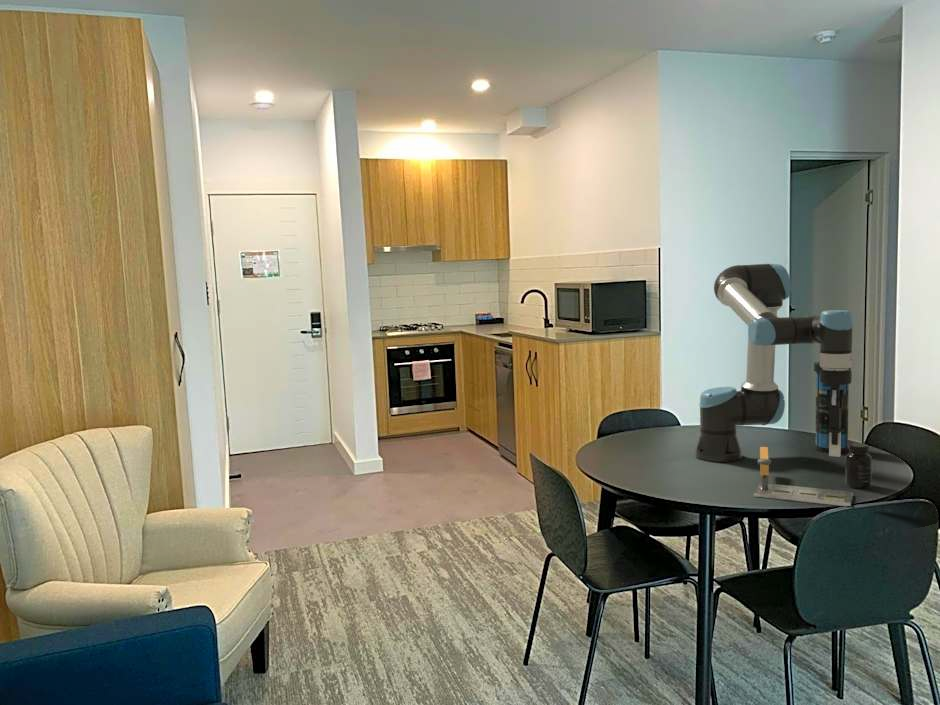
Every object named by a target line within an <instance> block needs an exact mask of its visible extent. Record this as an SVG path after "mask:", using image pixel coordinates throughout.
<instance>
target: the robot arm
mask: <svg viewBox="0 0 940 705" xmlns="http://www.w3.org/2000/svg"><path fill="white" fill-rule="evenodd" d="M791 291H792V283H791V278H790V274H789V272H788V271H787V269H786V268H785V266H783V265H782V264H780V263H779V264H778V263H775V264H774V263H758V264H737V265H732V266H728V267H727V268H725V269H724V270H723V271H721V272H720V273H719V274H718V276H717V277H716V279H715V281H714V284H713V292H714V293H713V294H714V295H715V297H716V299H717V300H718V301H719V302H720V304H722V305H723V306H725V307H728V308H730V309H731V310H732V311H733V312H734V313H735V314H736V315H737V316H738V317H739V318H740V320H741V321H743V323H744V324H745V325H746V326H747V352H746V353H747V354H746V378H745V381H743V382H742V383H741V384H740V385H741V386H740V390H738V391H737V389H736V387H734V386H720V387H719V386H718V387H713V388H708V389H706V390H704V391H702V392H701V394H700V397H699V416H700V418H699V424H700V425H699V427H700V428H699V430H700V433H699V436H698V440H697V442H696V447H695V451H694V456H695V458H696V459H699V460H702V461H707V462H716V463H724V462H725V463H730V462H737V461H740V460H742V458H743V450H742V448H741V445H740V441H739V438H738V436H737V427H738V426H767V425H774V424H776V423H778V422H779V421H780V420H781V419H782V417H783V415H784V413H785V406H786V402H785V396H784V393H783V391H782V390H780V389H779V385H778V384H777V383H776V382H775V381H774V380H775V363H776V362H775V361H776V346H780V345H783V346H784V345H802V344H804V345H807V344H818V345H819V347H820V348H819V349H820V350H819V362H820V367H822V369H821V370H820V382H821V383H823V384H829V385H830V389H828V391H827V398H828V407H829V430H826V432H829V453H828V457H837V458H840V457H841V454H842V453H841V432H840V431H844V429H842V428H841V425H842V424H841V407H842V405H843V396H844V390H841V385H847V384H849V385H850V384H852V374H853V373H852V372H853V371H852V369H851V370H850V369H849V368H850V367H851V368H852V363H853V362H852V361H854V360H855V357H854V356H852V352H853V351H852V350H853V327H854V326H853V325H854V324H853V314H852V312H851V311H849V310H845V309H844V310H840V309H837V310H836V309H835V310H833V309H832V310H831V309H830V310H829V309H828V310H823V311H822V312H821V313H820V315H816V314H814V315H806V316H793V317H791V316H790V317H789V316H787V317H779V316H778V311H779V310H780V309H781V308H782V307H783V303H784V301H785V300H787V299H788V298H789V297H790V294H791Z"/></svg>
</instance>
